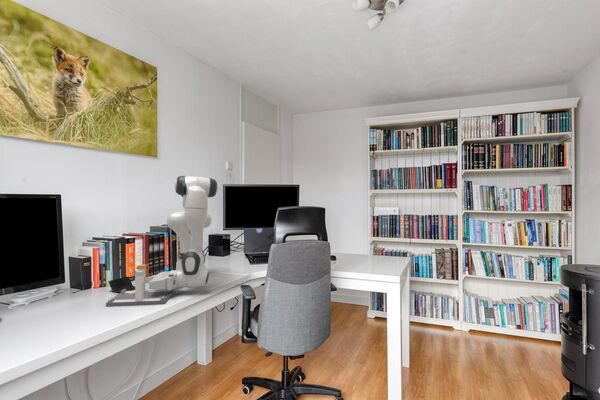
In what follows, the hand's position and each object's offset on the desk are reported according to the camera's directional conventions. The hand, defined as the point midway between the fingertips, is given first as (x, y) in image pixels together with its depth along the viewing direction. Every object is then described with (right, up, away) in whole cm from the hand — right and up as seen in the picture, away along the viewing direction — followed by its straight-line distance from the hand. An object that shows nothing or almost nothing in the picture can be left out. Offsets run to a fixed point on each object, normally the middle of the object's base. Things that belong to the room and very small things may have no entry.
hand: (144, 280), depth 155 cm
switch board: (+2, -7, -7) cm, 10 cm away
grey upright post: (-1, -5, 0) cm, 5 cm away
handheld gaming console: (-14, -7, +8) cm, 18 cm away
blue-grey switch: (+4, -5, -14) cm, 15 cm away
